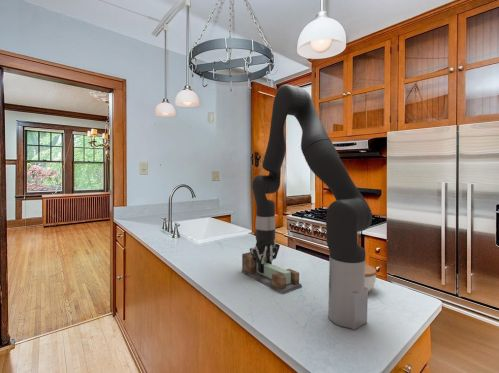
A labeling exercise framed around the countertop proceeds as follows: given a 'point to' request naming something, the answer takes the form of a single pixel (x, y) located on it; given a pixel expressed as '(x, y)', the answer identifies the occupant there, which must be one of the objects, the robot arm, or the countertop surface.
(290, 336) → the countertop surface
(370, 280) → the lidded jar
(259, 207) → the robot arm
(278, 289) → the holder
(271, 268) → the slat
